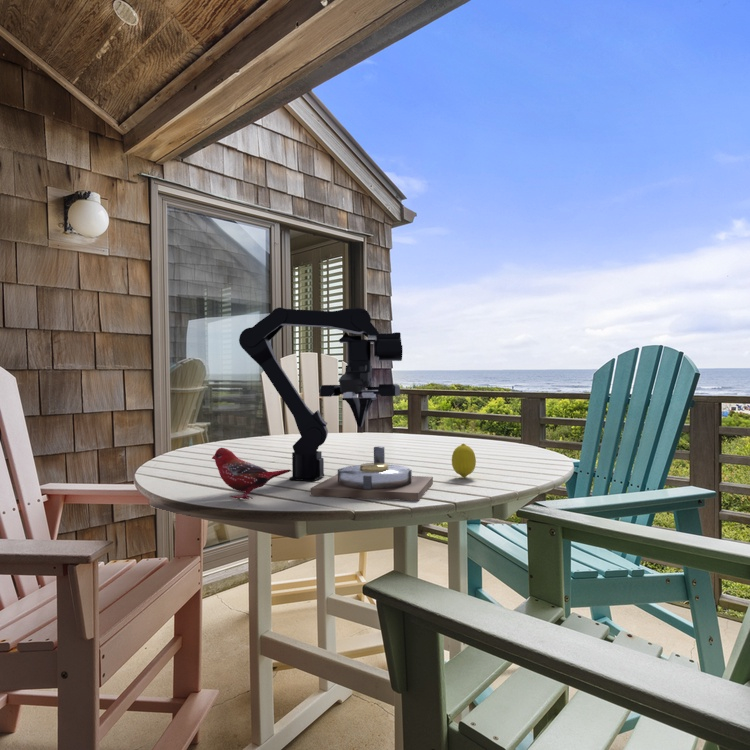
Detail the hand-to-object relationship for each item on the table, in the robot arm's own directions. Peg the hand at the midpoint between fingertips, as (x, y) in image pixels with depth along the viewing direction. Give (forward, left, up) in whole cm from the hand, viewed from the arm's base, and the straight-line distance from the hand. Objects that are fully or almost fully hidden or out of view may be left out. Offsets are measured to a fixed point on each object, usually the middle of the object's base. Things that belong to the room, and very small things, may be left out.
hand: (360, 426), depth 121 cm
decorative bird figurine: (-14, -27, -12) cm, 33 cm away
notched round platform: (+7, -13, -10) cm, 18 cm away
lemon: (+24, +4, -12) cm, 27 cm away
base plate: (+7, -13, -12) cm, 19 cm away
